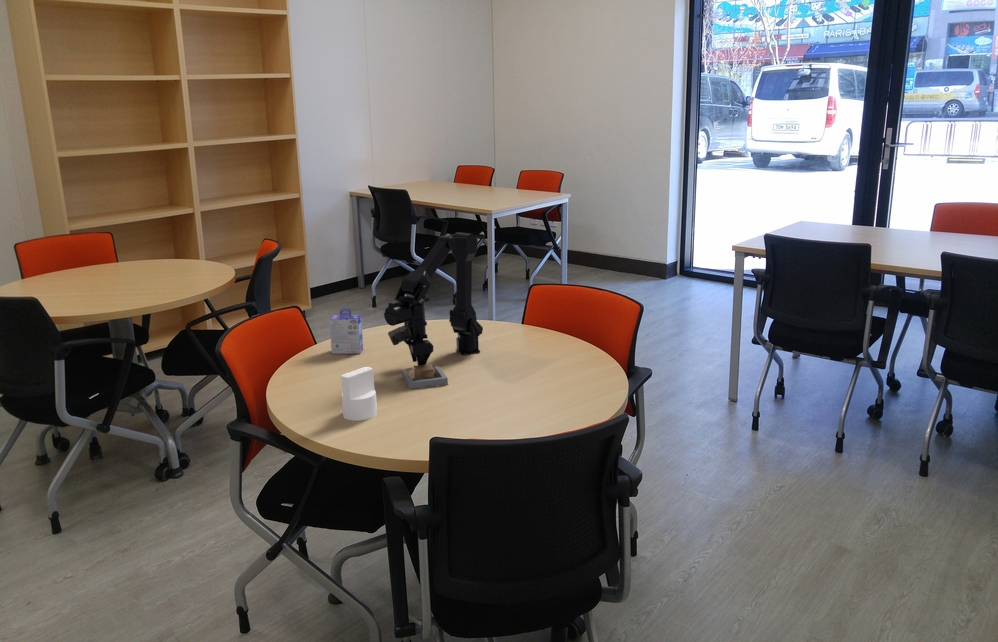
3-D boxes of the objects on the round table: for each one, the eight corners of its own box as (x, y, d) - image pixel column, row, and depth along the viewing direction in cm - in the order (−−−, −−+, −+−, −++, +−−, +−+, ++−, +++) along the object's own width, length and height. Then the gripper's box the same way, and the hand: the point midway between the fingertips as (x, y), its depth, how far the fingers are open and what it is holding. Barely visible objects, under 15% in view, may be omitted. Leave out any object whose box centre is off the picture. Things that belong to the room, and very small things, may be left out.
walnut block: (430, 376, 230) (430, 363, 229) (434, 381, 226) (434, 369, 224) (414, 378, 229) (413, 365, 227) (418, 384, 224) (417, 371, 223)
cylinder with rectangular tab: (362, 404, 209) (359, 363, 206) (384, 412, 204) (381, 370, 201) (336, 415, 203) (332, 373, 199) (358, 423, 197) (355, 380, 194)
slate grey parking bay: (438, 371, 234) (438, 365, 233) (447, 384, 223) (447, 378, 223) (402, 376, 230) (401, 370, 230) (409, 389, 220) (409, 382, 219)
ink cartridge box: (364, 348, 256) (361, 307, 252) (361, 354, 251) (358, 312, 247) (335, 349, 256) (331, 307, 252) (331, 354, 251) (328, 312, 247)
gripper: (383, 312, 236) (386, 359, 240) (395, 329, 219) (398, 379, 223) (418, 309, 239) (420, 355, 244) (432, 325, 222) (434, 375, 227)
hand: (417, 366), depth 234 cm, fingers open, 9 cm apart
